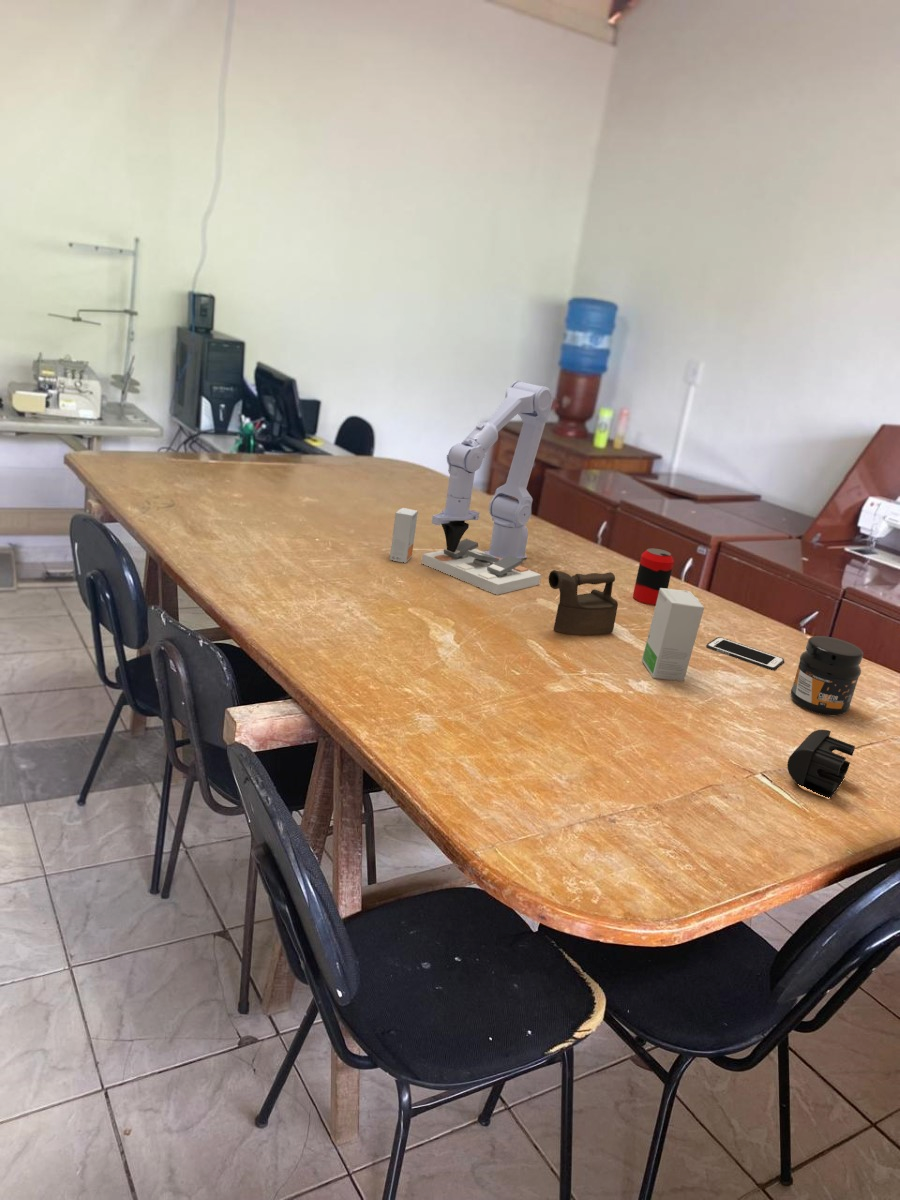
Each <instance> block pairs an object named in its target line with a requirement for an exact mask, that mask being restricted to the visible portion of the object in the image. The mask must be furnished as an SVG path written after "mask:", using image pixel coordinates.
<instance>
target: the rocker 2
mask: <svg viewBox="0 0 900 1200" xmlns="http://www.w3.org/2000/svg"><path fill="white" fill-rule="evenodd" d="M466 555H468V556H471V557H473V558H476V559H479V560H485V561H491V562H497V561H499V559H498V558H496V557H493V556H491V555H488V554H484V553H478V552H474V551H470V550H467V551H466Z"/></svg>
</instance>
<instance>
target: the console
mask: <svg viewBox="0 0 900 1200" xmlns="http://www.w3.org/2000/svg"><path fill="white" fill-rule="evenodd" d="M444 550H445V549H443V550H437V551H431V552H427V553H426V552H425V553H422V556H421V563H422V564H421V565H423V564H424V566H426V567H428V566H429V567H428V568H430V567H432V568H431V569H433V568H434V569H433V570H435V569H436V570H435V571H438V570H439V571H438V572H440V571H441V572H440V573H442V572H443V573H442V574H445V573H446V574H445V575H447V574H448V575H447V576H450V575H451V577H452V576H453V577H452V578H454V577H456V578H455V579H457V578H458V579H457V580H459V579H460V580H459V581H462V580H463V581H462V582H464V581H465V582H464V583H466V582H467V584H469V583H470V584H469V585H471V584H472V586H474V587H476V586H477V587H476V588H478V587H480V588H479V589H481V590H483V589H484V590H483V591H485V592H488V591H489V592H488V593H490V592H491V593H490V594H492V595H495V594H496V595H495V596H498V595H501V594H502V595H503V594H507V593H511V592H514V591H518V590H524V589H527V588H531V587H536V586H539V585H540V583H541V577H542V575H541V574H540V573H539V572H535V571H533V570H530V569H529V568H527V567H524V566H522V565H519V566H517V567H516V568H514V569H512V570H510V571H508V572H507V573H505V574H503V575H501V576H499V575H496V574H494V573H491V572H489V571H487V567H488V566H490V565H492V564H494V563H496V562H491V561H485V560H479V559H476V558H473V557H471V556H468V555H466V553H465V554H463V555H461V556H460V557H458V558H454V557H451V556H449V555H446V554H444ZM471 551H474V552H478V553H484V554H486V553H485V552H484V551H482V550H480V549H478V548H475V549H473V550H471ZM488 555H489V554H488ZM493 557H494V556H493ZM496 558H498V559H499V560H501V558H499V557H496Z"/></svg>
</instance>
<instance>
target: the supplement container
mask: <svg viewBox="0 0 900 1200" xmlns="http://www.w3.org/2000/svg"><path fill="white" fill-rule="evenodd" d="M863 657H864V652H863V650H862V649H861V648H859V646H857V645H855V644H853V643H852V642H848V641H846V640H843V639H839V638H836V637H830V636H824V635H816V636H815V635H814V636H811V637H809V638H808V640H807V644H806V646H805V651H803V652H802V653H801V654H800V656H799V663H798V666H797V670H796V673H795V676H794V680H793V684H792V687H791V689H790V697H791V698H792V700H793V701H794V703H795V704H797V705H798V706H799V707H801V708H803V709H805V710H808V711H810V712H812V711H813V713H815V712H816V713H815V714H819V713H820V715H823V714H824V716H830V715H836V716H841V715H844V714H846V713H847V712H848V711H849V710H850V707H851V702H852V699H853V696H854V694H855V693H854V692H855V689H856V687H857V684H858V680H859V678H860V676H861V675H862V668H861V666H860V665H861V662H862V659H863Z"/></svg>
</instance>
